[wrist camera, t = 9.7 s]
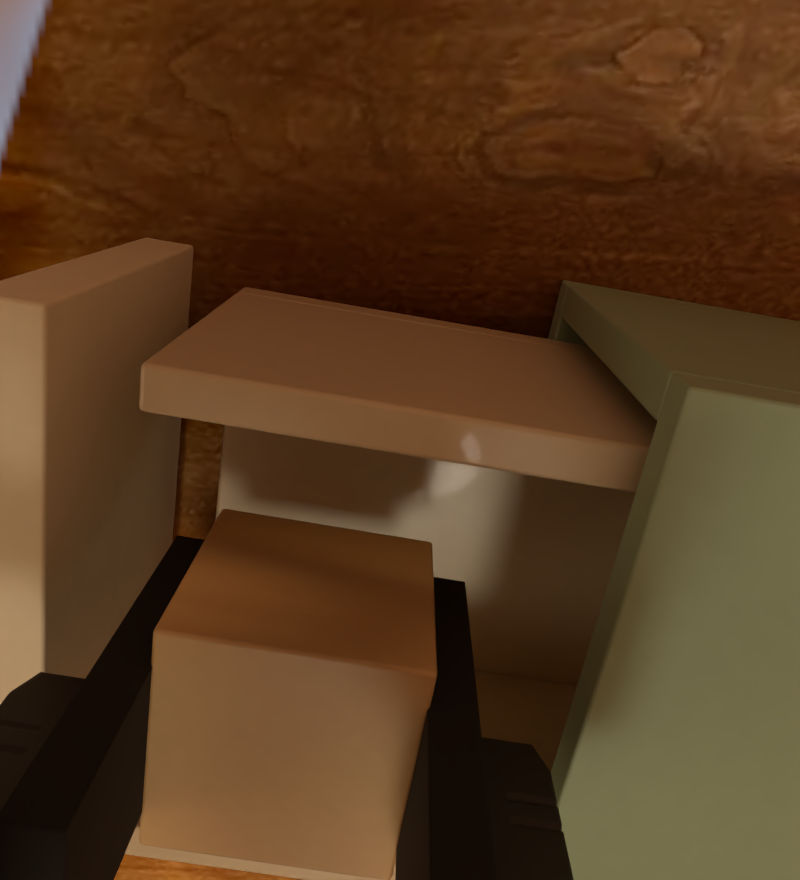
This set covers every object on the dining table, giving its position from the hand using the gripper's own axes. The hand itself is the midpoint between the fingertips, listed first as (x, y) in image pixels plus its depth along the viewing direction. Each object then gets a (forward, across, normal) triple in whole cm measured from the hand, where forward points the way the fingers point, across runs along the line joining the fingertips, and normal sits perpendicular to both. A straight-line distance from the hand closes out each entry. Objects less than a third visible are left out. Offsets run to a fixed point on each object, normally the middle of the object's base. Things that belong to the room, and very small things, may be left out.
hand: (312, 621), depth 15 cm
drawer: (+6, 0, 0) cm, 6 cm away
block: (0, 0, 0) cm, 0 cm away
